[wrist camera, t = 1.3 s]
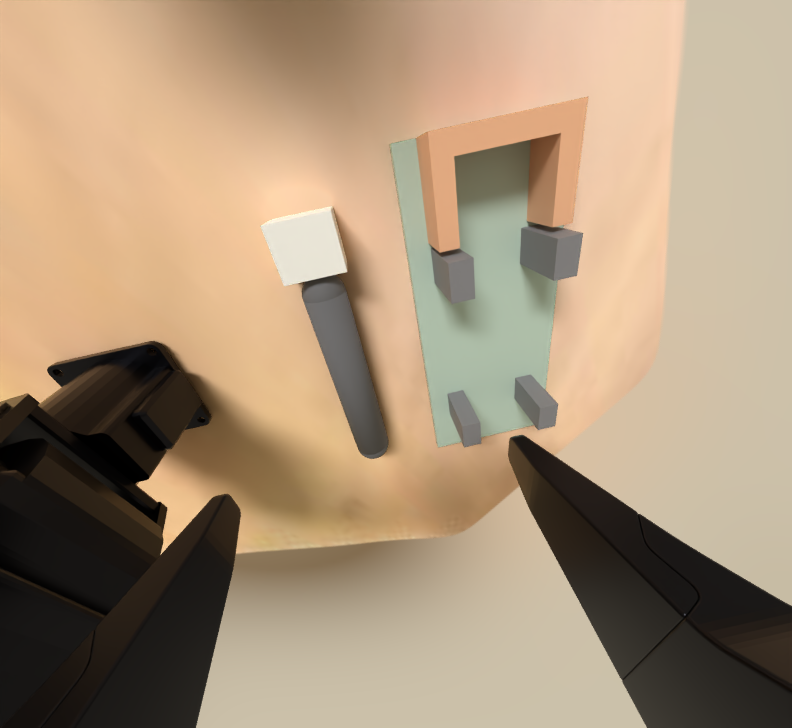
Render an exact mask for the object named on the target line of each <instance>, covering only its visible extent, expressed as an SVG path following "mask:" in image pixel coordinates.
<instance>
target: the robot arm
mask: <svg viewBox="0 0 792 728" xmlns="http://www.w3.org/2000/svg"><path fill="white" fill-rule="evenodd" d="M151 348H152V349H154V350H156V352H153V351H152V350H151ZM47 371H48V373H49V375H50V376H51V377H52V378H53V379H54V380H55V381H56V382H57V383H58V384H59V385H60V386H61V387H62V388H60V389H59V390H58V391H56V392H55V393H54V394H52V395H51V396H50V397H48V398H47V399H46V400H44V401H43V402H41V403H40V404H39V402H38V401H37V400H35V399H34V398H33V397H32V396H30V395H29V394H24V395H21V396H18V397H14V398H11V399H8V400H5V401H1V402H0V728H196V725H197V721H198V716H199V712H200V708H201V704H202V699H203V695H204V691H205V687H206V683H207V678H208V674H209V670H210V666H211V661H212V657H213V653H214V649H215V644H216V640H217V636H218V632H219V628H220V623H221V619H222V615H223V611H224V607H225V602H226V598H227V593H228V589H229V585H230V581H231V577H232V572H233V567H234V561H235V554H236V547H237V539H238V532H239V524H240V517H241V512H240V509H239V507H238V505H237V504H236V503H235V501H234V500H233V499H232V497H231V496H230V495H229V494H223V495H218V496H215V497H213V498H212V499H211V500H210V501H209V502H208V503H207V504H206V506H205V507H204V508H203V509H202V510H201V511H200V512H199V513H198V514H197V515H196V517H195V518H194V519H193V520H192V521H191V522H190V523H189V524H188V525H187V527H186V528H185V529H184V530H183V531H182V532H181V533H180V534H179V535H178V536H177V538H176V539H175V540H174V541H173V542H172V543H171V544H170V545H169V546H168V548H167V549H166V550H165V551H164V552H163V553H162V554H161V555H160V553H161V549H162V545H163V535H162V534H163V529H164V524H165V519H166V513H167V507H166V506H165V505H164V504H162V503H161V502H156V501H155V500H154V499H153V498H152V497H150V496H149V495H148V494H147V493H145V492H144V491H143V490H142V489H140V488H139V487H138V486H137V484H138V483H139V482H140V481H144V480H147V479H149V478H150V476H151V475H152V473H153V472H154V470H155V469H156V467H157V466H158V464H159V463H160V461H161V460H162V458H163V457H164V455H165V454H166V452H167V450H169V449H172V448H173V447H174V445H175V444H176V442H177V440H178V439H179V437H180V436H181V434H182V433H183V431H184V430H186V429H191V428H195V427H199V426H204V425H207V424H208V423H209V422H210V420H211V417H212V416H211V414H210V413H209V411H208V410H207V408H206V407H205V405H204V404H203V403H202V400H201V399H200V397H199V396H198V395H197V393H196V392H195V390H194V389H193V387H192V386H191V385H190V383H189V382H188V380H187V379H186V377H185V376H184V375H183V373H182V372H181V371H180V370H179V368H178V367H177V365H176V364H175V362H174V361H173V360H172V358H171V357H170V355H169V354H168V352H167V351H166V349H165V348H164V347H163V346H162V345H161V344H160V343H158V342H155V341H149V342H145V343H140V344H136V345H132V346H127V347H123V348H118V349H114V350H109V351H105V352H101V353H96V354H92V355H87V356H83V357H78V358H74V359H70V360H65V361H61V362H57V363H54V364H53V365H51V366H50V367H48V369H47ZM61 371H62V372H61ZM201 417H203V418H204V419H203V418H201ZM508 457H509V461H510V463H511V466H512V468H513V471H514V473H515V475H516V478H517V480H518V483H519V485H520V488H521V490H522V493H523V495H524V497H525V500H526V502H527V504H528V507H529V509H530V511H531V513H532V515H533V516H534V518H535V520H536V522H537V524H538V526H539V528H540V529H541V531H542V533H543V535H544V537H545V539H546V541H547V542H548V544H549V546H550V548H551V550H552V552H553V553H554V555H555V557H556V559H557V561H558V563H559V564H560V566H561V568H562V570H563V572H564V574H565V576H566V578H567V580H568V581H569V583H570V585H571V587H572V589H573V591H574V592H575V594H576V596H577V598H578V600H579V602H580V603H581V606H582V607H583V609H584V611H585V613H586V615H587V617H588V618H589V620H590V622H591V624H592V626H593V628H594V630H595V631H596V633H597V635H598V637H599V639H600V641H601V643H602V645H603V646H604V648H605V650H606V652H607V654H608V656H609V657H610V659H611V661H612V663H613V665H614V667H615V669H616V670H617V672H618V674H619V676H620V678H621V679H622V681H623V684H624V686H625V688H626V689H627V691H628V693H629V695H630V697H631V699H632V700H633V702H634V704H635V706H636V708H637V710H638V712H639V713H640V715H641V717H642V719H643V721H644V723H645V724H646V726H647V728H792V606H791V605H789V604H787V603H785V602H783V601H782V600H780V599H778V598H776V597H774V596H773V595H771V594H769V593H768V592H766V591H764V590H762V589H761V588H759V587H757V586H756V585H754V584H752V583H751V582H749V581H747V580H746V579H744V578H742V577H740V576H739V575H737V574H735V573H733V572H732V571H730V570H728V569H727V568H725V567H723V566H722V565H720V564H718V563H717V562H715V561H713V560H712V559H710V558H708V557H706V556H705V555H703V554H701V553H700V552H698V551H697V550H695V549H693V548H692V547H690V546H688V545H687V544H685V543H683V542H682V541H680V540H679V539H677V538H675V537H674V536H672V535H671V534H669V533H668V532H666V531H665V530H663V529H662V528H660V527H659V526H657V525H656V524H654V523H653V522H651V521H650V520H648V519H646V518H645V517H644V516H642V515H641V514H638V513H637V512H636V511H635V510H633V509H632V508H630V507H629V506H627V505H626V504H624V503H623V502H621V501H620V500H619V499H617V498H616V497H614V496H613V495H611V494H610V493H608V492H607V491H605V490H604V489H602V488H601V487H599V486H598V485H596V484H595V483H593V482H592V481H591V480H589V479H588V478H586V477H584V476H583V475H582V474H580V473H579V472H577V471H576V470H574V469H573V468H571V467H570V466H568V465H567V464H566V463H564V462H563V461H561V460H560V459H558V458H557V457H555V456H554V455H552V454H551V453H549V452H548V451H546V450H545V449H543V448H542V447H540V446H539V445H538V444H536V443H535V442H533V441H532V440H530V439H529V438H527V437H526V436H524V435H518V436H513V437H511V438H510V440H509V451H508Z"/></svg>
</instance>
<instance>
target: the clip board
mask: <svg viewBox="0 0 792 728" xmlns="http://www.w3.org/2000/svg"><path fill="white" fill-rule="evenodd" d="M587 103H588V97H584V98H580V99H575V100H571V101H566V102H561V103H557V104H552V105H548V106H543V107H538V108H534V109H529V110H525V111H520V112H515V113H511V114H506V115H502V116H497V117H493V118H488V119H483V120H479V121H474V122H470V123H465V124H460V125H456V126H451V127H447V128H442V129H437V130H433V131H428V132H426V133H424V134H423V135H421V136H419V137H417V138H415V139H410V140H406V141H401V142H397V143H392V144H390V151H391V157H392V164H393V170H394V176H395V183H396V189H397V195H398V202H399V208H400V214H401V221H402V227H403V233H404V240H405V246H406V252H407V259H408V265H409V271H410V278H411V284H412V290H413V297H414V303H415V309H416V315H417V322H418V328H419V334H420V341H421V347H422V353H423V360H424V366H425V372H426V379H427V385H428V391H429V398H430V404H431V410H432V417H433V423H434V429H435V436H436V442H437V446H438V447H442V446H447V445H451V444H455V443H459V442H462V443H463V446H464V447H468V446H472V445H476V444H481V437H485V436H489V435H494V434H498V433H502V432H506V431H511V430H515V429H519V428H523V427H528V426H532V425H535V427H536V428H537V429H538V430H540V429H544V428H549V427H553V426H555V423H556V416H557V409H558V403H557V402H556V401H555V400H554V399H553V398H552V397H551V396H550V395H549V394H548V392H547V391H546V390H545V389H546V380H547V371H548V362H549V353H550V344H551V335H552V326H553V317H554V308H555V299H556V290H557V281H558V280H560V279H564V278H569V277H573V276H577V271H578V264H579V257H580V251H581V244H582V237H583V233H580V232H576V231H572V230H568V229H564V228H563V227H564V225H565V224H570V223H572V222H573V214H574V206H575V199H576V191H577V183H578V175H579V167H580V159H581V151H582V143H583V135H584V127H585V119H586V111H587Z"/></svg>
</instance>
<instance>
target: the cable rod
mask: <svg viewBox="0 0 792 728" xmlns="http://www.w3.org/2000/svg"><path fill="white" fill-rule="evenodd" d="M261 229H262V231H263V234H264V236H265V239H266V241H267V244H268V247H269V249H270V252H271V254H272V257H273V259H274V262H275V264H276V267H277V269H278V272H279V274H280V277H281V279H282V282H283V284H284V286H288V285H292V284H296V283H301V282H304V285H303V288H302V298H303V301H304V304H305V306H306V309H307V312H308V315H309V317H310V320H311V323H312V325H313V328H314V331H315V333H316V336H317V339H318V342H319V344H320V347H321V350H322V352H323V355H324V358H325V361H326V363H327V366H328V369H329V371H330V374H331V377H332V379H333V382H334V385H335V388H336V390H337V393H338V396H339V398H340V401H341V404H342V407H343V409H344V412H345V415H346V417H347V420H348V423H349V425H350V428H351V431H352V434H353V436H354V439H355V442H356V444H357V447H358V450H359V451H360V453H361V454H362V455H363V456H365V457H367V458H370V459H375V458H379V457H380V456H382V455H383V454H384V453H385V452H386V450H387V448H388V437H387V433H386V429H385V426H384V422H383V419H382V415H381V412H380V408H379V405H378V401H377V398H376V394H375V390H374V387H373V383H372V380H371V376H370V373H369V369H368V366H367V362H366V359H365V355H364V352H363V348H362V344H361V341H360V337H359V334H358V330H357V327H356V323H355V320H354V316H353V313H352V309H351V305H350V302H349V298H348V295H347V291H346V288H345V286H344V283H343V282H342V280H341V279H340V278H339V277H337V276H336V274H341V273H345V272H347V259H346V255H345V251H344V248H343V244H342V240H341V236H340V232H339V229H338V225H337V221H336V217H335V214H334V210H333V206H330V207H326V208H321V209H317V210H312V211H307V212H303V213H298V214H294V215H289V216H285V217H280V218H276V219H271V220H270V221H268V222H266V223H264V224H263V225H261Z"/></svg>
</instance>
